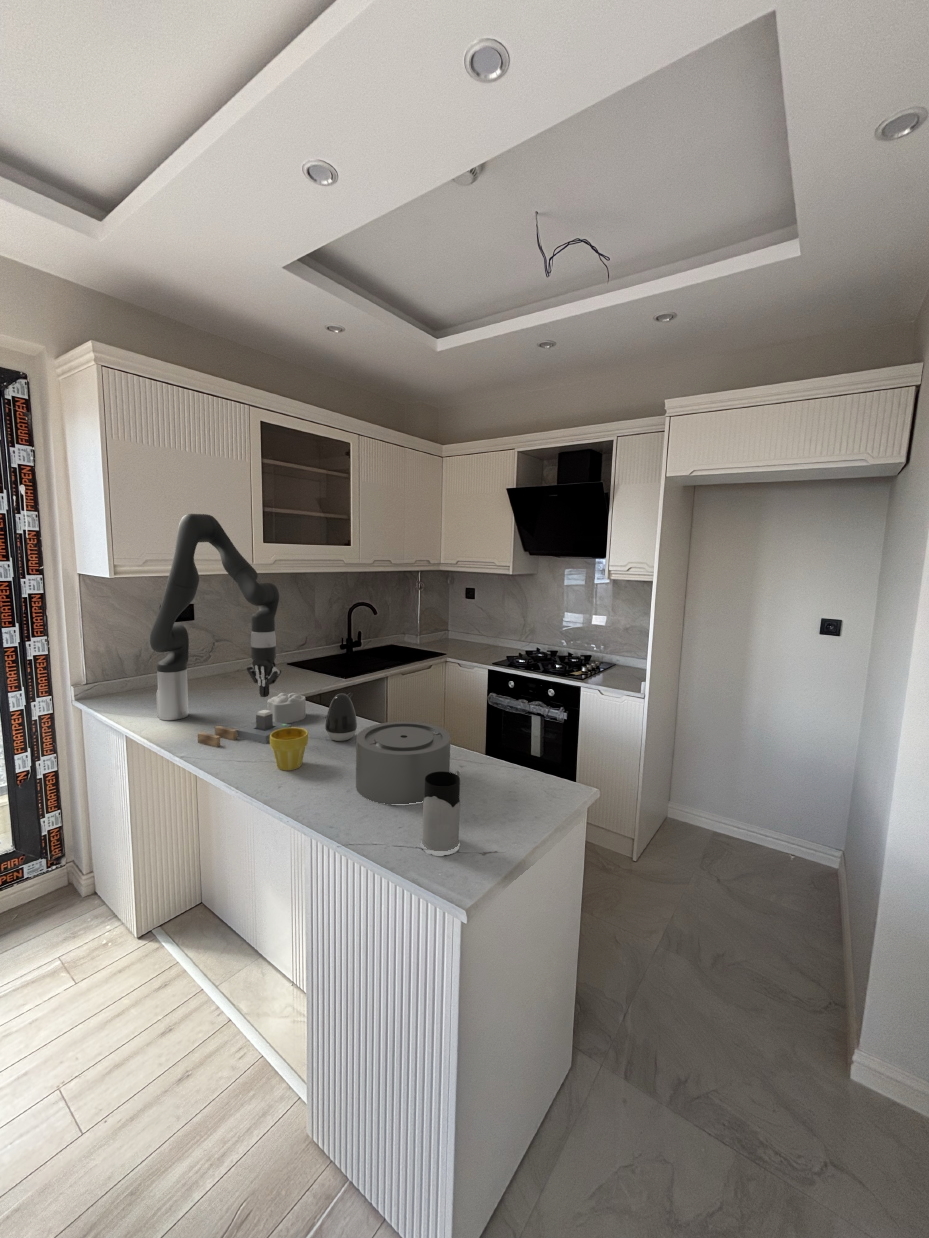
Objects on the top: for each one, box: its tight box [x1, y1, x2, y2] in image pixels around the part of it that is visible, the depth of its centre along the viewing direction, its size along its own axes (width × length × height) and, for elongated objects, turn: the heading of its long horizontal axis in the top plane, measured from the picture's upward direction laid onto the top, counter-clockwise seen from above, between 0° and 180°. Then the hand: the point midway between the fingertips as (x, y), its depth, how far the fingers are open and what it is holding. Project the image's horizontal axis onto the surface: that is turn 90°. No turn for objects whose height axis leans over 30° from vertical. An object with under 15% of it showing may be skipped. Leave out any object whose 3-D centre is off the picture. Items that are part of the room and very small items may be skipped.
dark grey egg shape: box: [324, 692, 358, 742], centre depth 172 cm, size 10×10×15 cm
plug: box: [255, 709, 273, 731], centre depth 173 cm, size 4×4×8 cm
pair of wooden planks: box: [197, 725, 238, 748], centre depth 167 cm, size 8×8×3 cm
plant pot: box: [269, 726, 309, 771], centre depth 150 cm, size 10×10×10 cm
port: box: [236, 721, 293, 744], centre depth 174 cm, size 12×12×3 cm
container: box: [355, 720, 452, 805], centre depth 141 cm, size 25×25×13 cm
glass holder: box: [421, 769, 461, 851], centre depth 114 cm, size 9×14×15 cm, turn 159°
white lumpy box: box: [266, 692, 307, 724], centre depth 191 cm, size 10×13×9 cm
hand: (264, 696), depth 172 cm, fingers closed
